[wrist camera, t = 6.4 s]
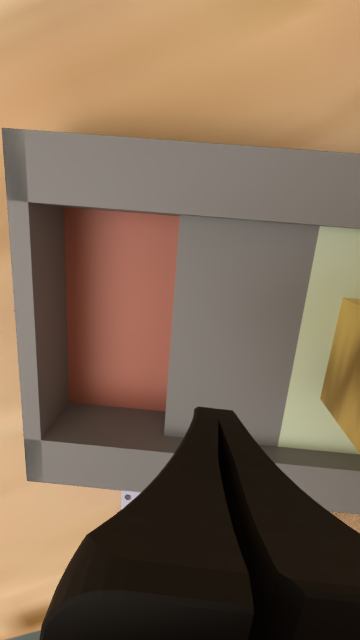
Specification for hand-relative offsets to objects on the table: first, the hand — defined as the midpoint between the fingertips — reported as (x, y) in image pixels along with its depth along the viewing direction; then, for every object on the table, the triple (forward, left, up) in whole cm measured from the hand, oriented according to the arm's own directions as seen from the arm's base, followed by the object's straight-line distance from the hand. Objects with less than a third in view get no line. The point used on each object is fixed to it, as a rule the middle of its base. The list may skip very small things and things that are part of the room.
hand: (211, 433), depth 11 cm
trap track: (+1, -6, -10) cm, 12 cm away
